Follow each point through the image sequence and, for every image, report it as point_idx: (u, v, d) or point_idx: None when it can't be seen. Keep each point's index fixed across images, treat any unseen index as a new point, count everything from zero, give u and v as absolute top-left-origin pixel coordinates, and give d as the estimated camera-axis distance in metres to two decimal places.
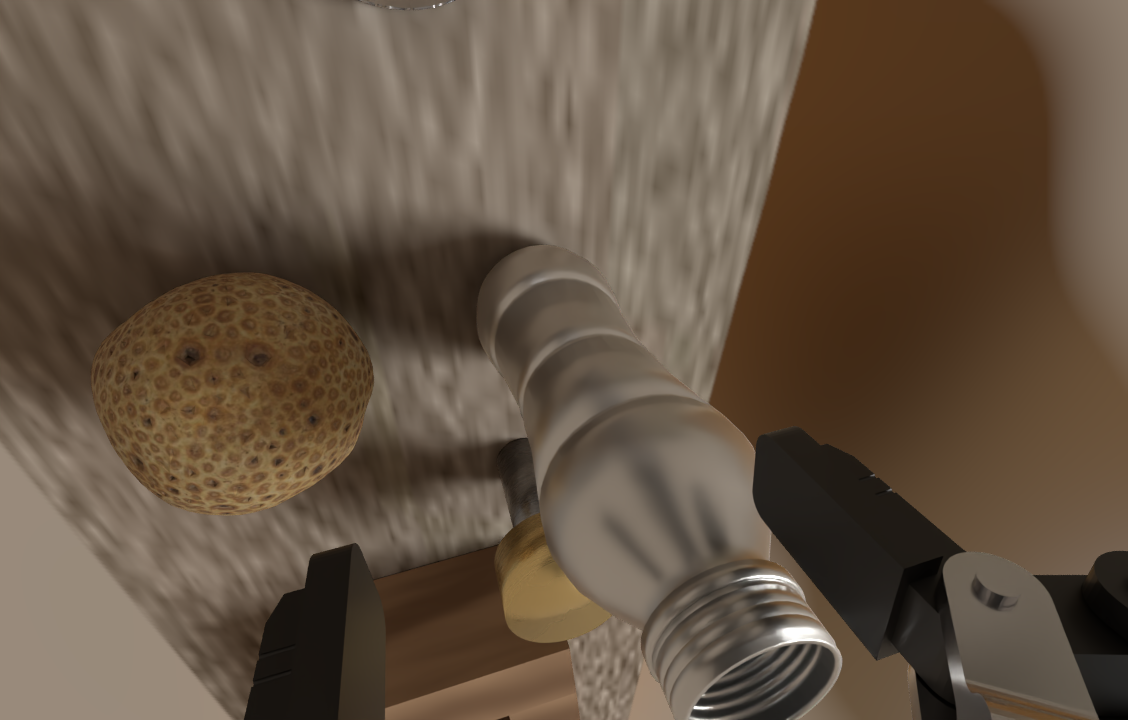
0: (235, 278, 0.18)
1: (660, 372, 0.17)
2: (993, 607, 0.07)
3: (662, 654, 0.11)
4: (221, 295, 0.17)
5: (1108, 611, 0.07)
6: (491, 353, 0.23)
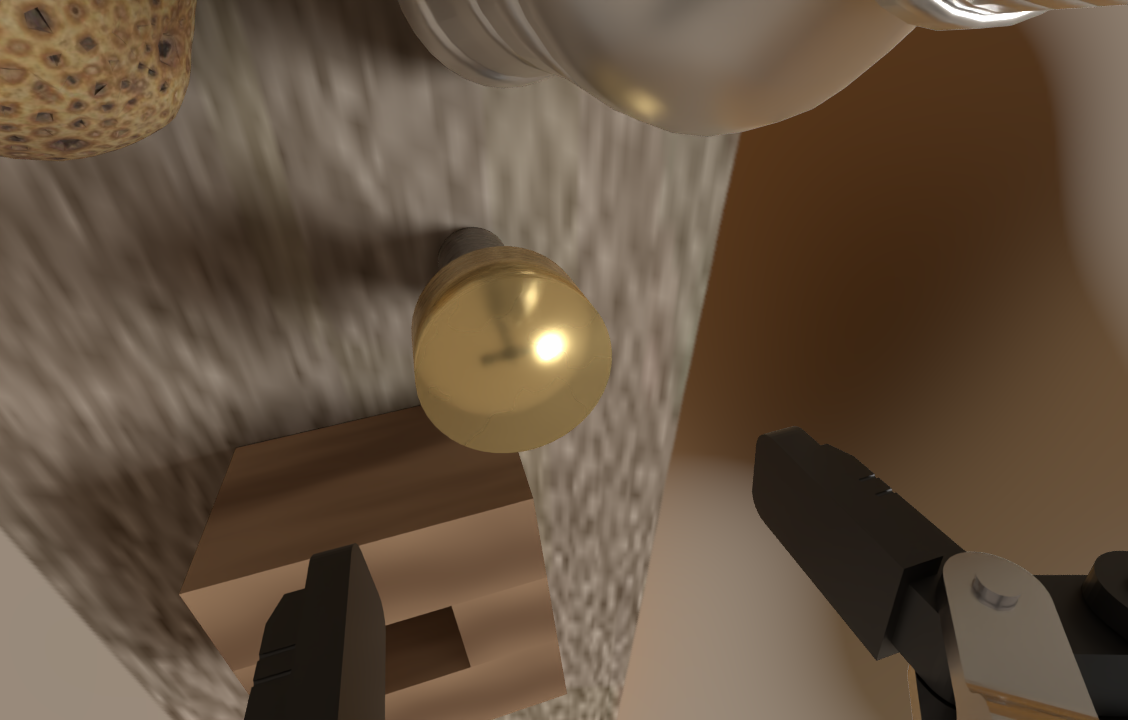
0: None
1: None
2: (993, 607, 0.07)
3: None
4: None
5: (1108, 611, 0.07)
6: None
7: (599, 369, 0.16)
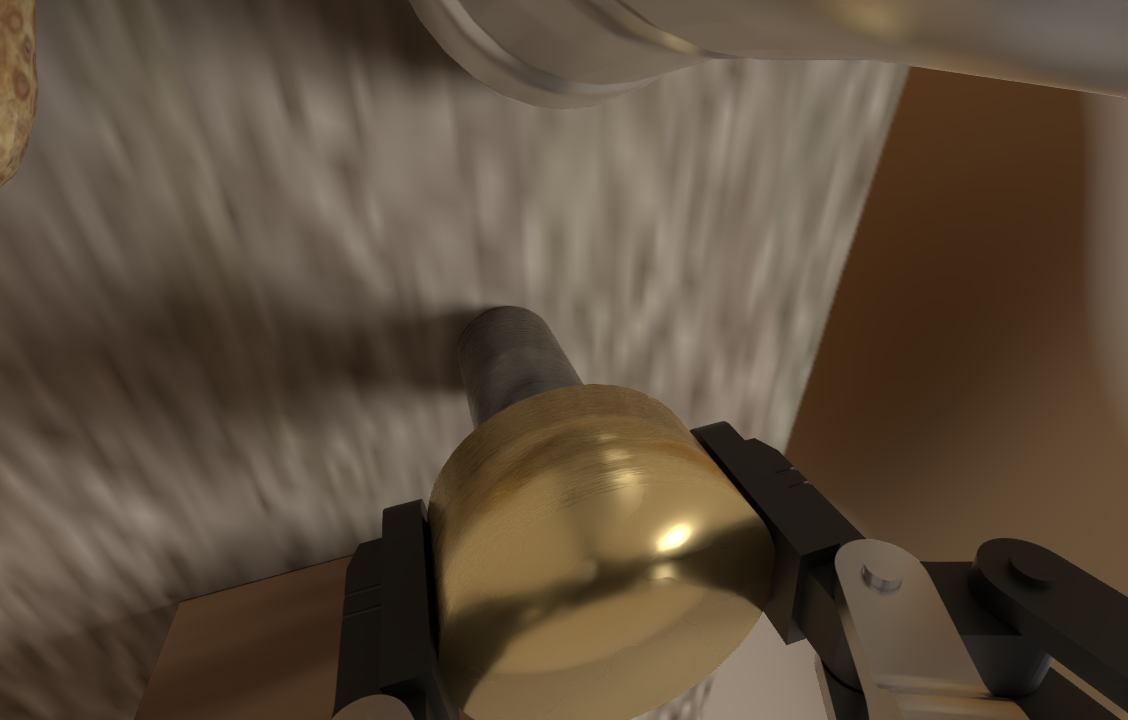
0: None
1: None
2: (875, 590, 0.08)
3: None
4: None
5: (996, 603, 0.07)
6: None
7: (751, 600, 0.10)
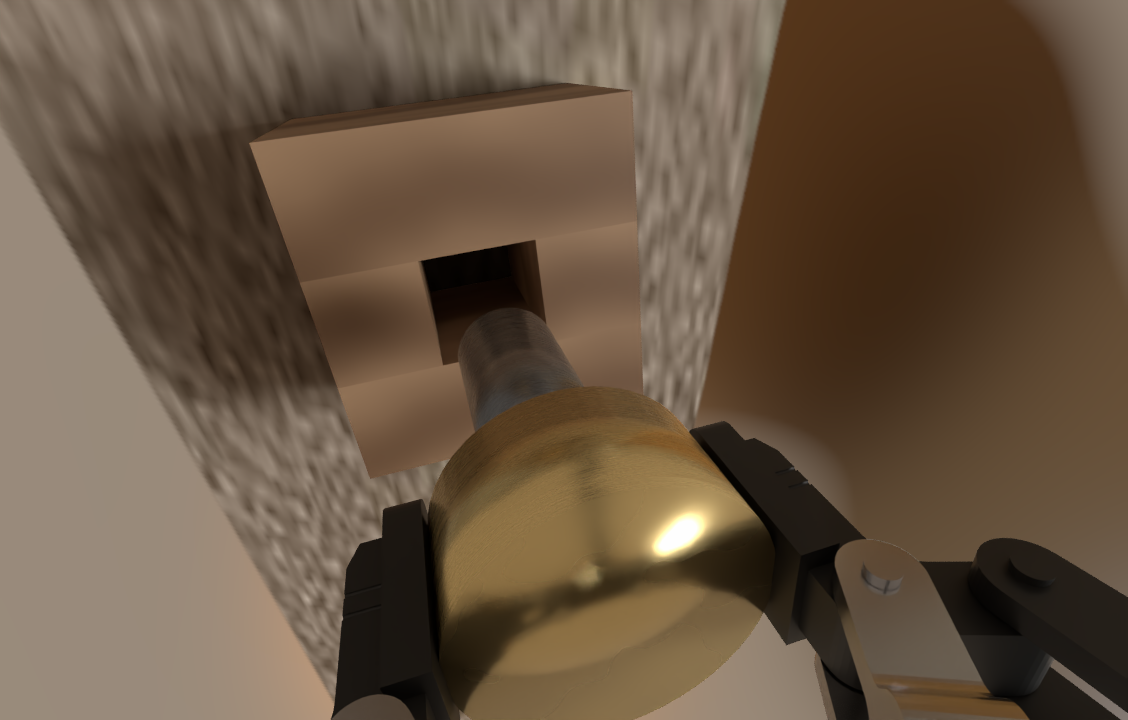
0: None
1: None
2: (875, 590, 0.08)
3: None
4: None
5: (996, 603, 0.07)
6: None
7: (751, 602, 0.10)
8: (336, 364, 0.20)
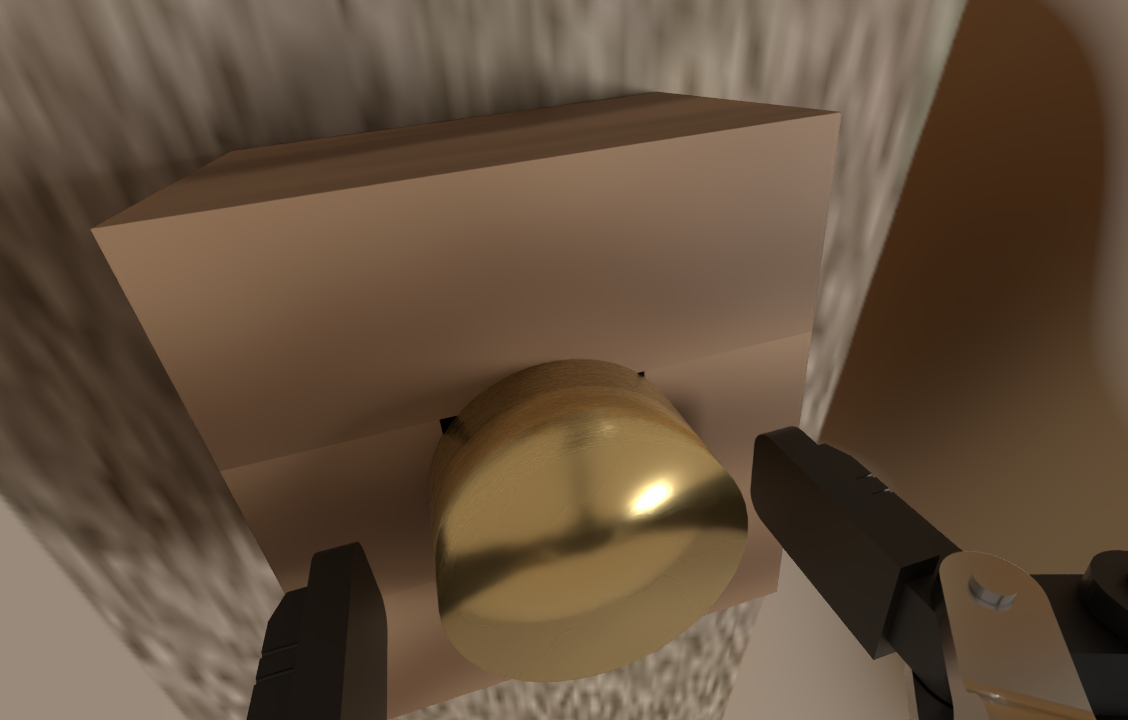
0: None
1: None
2: (989, 606, 0.07)
3: None
4: None
5: (1104, 610, 0.07)
6: None
7: (726, 557, 0.10)
8: (295, 587, 0.11)
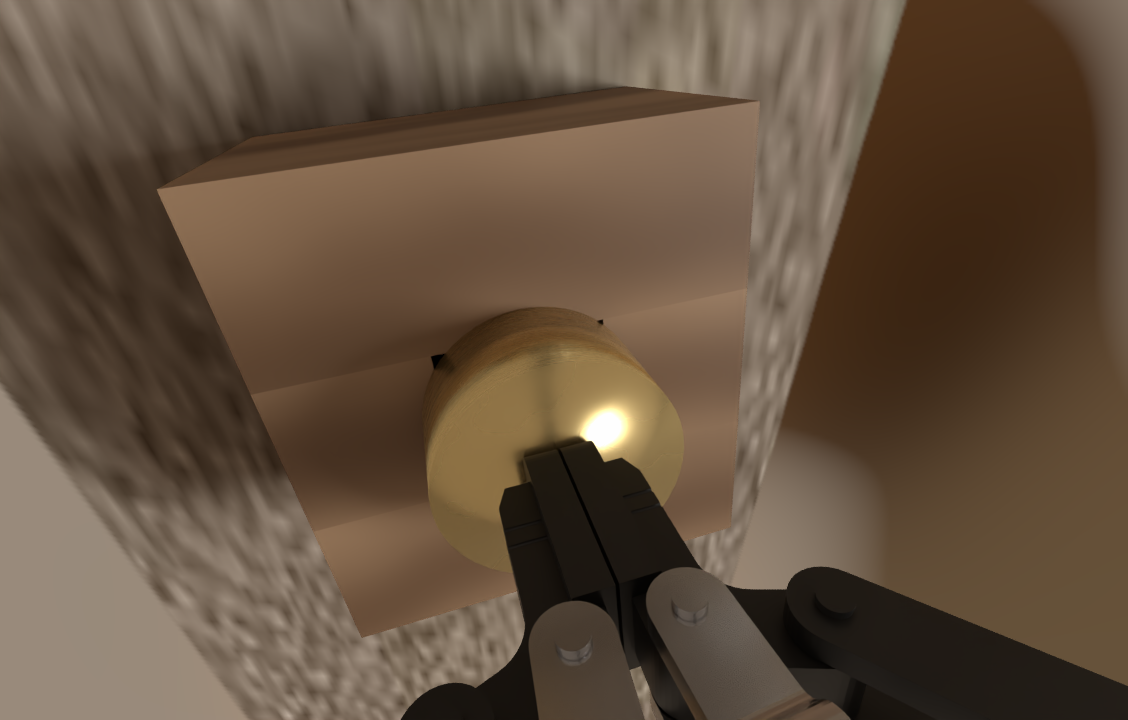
0: None
1: None
2: (676, 622, 0.07)
3: None
4: None
5: (818, 650, 0.07)
6: None
7: (667, 468, 0.13)
8: (310, 501, 0.14)
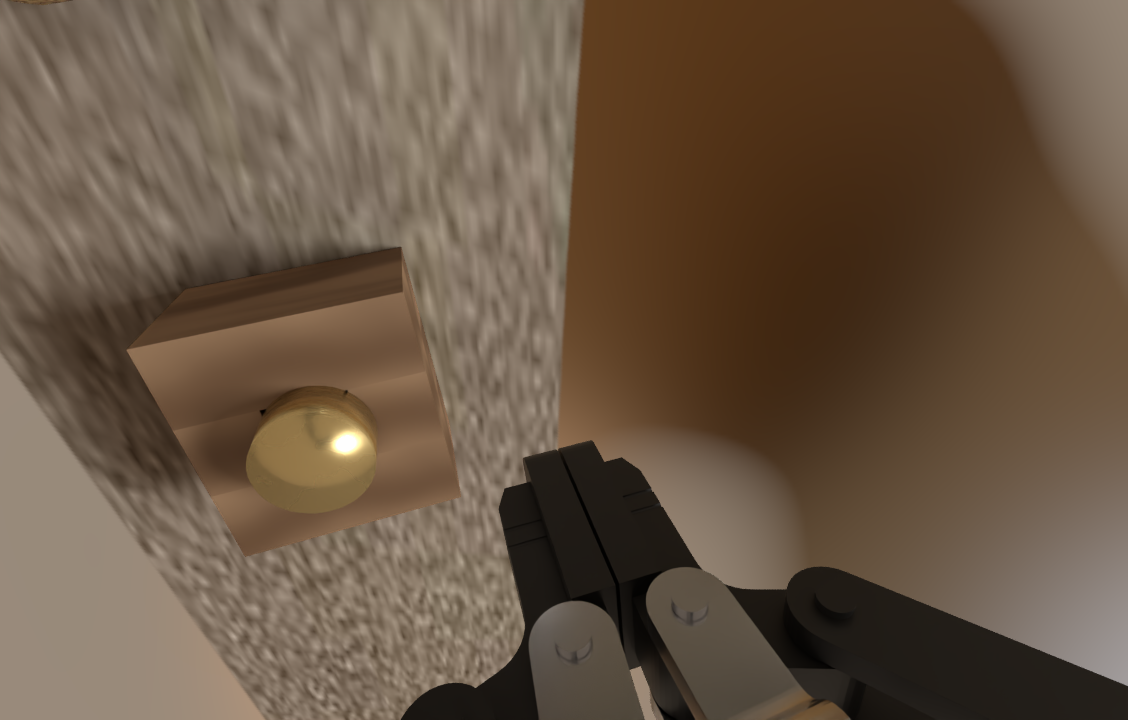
0: None
1: None
2: (676, 622, 0.07)
3: None
4: None
5: (818, 650, 0.07)
6: None
7: (368, 461, 0.27)
8: (207, 481, 0.28)
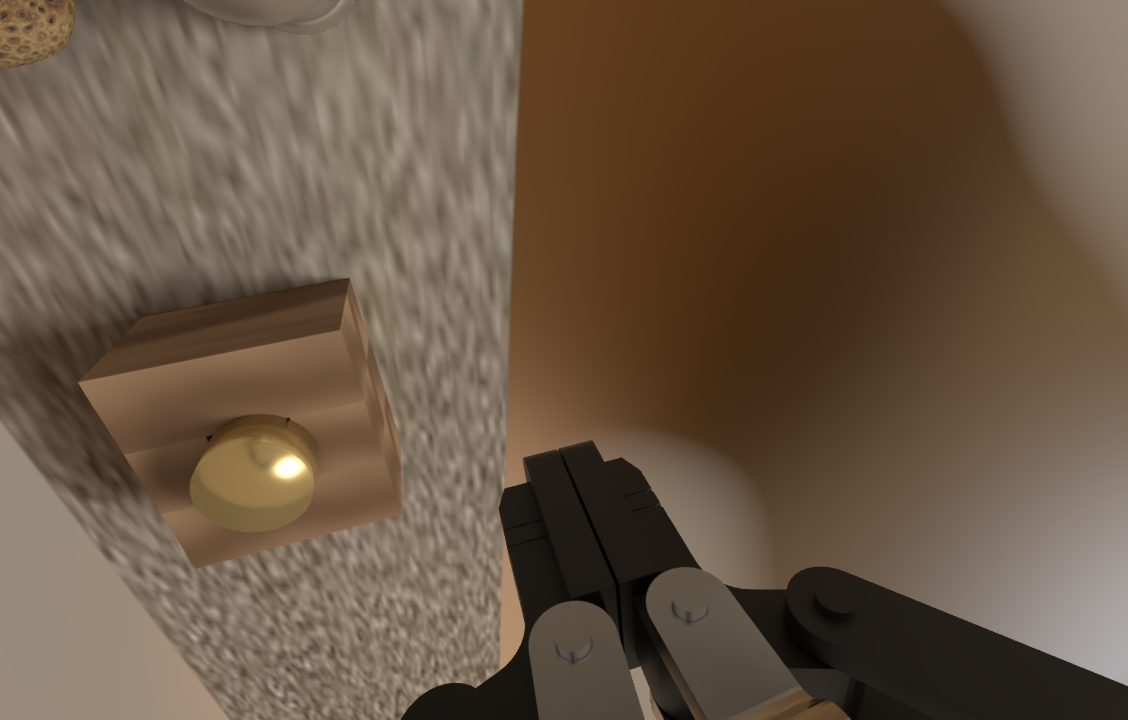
0: None
1: None
2: (676, 622, 0.07)
3: None
4: None
5: (818, 650, 0.07)
6: None
7: (306, 485, 0.29)
8: (157, 500, 0.30)
